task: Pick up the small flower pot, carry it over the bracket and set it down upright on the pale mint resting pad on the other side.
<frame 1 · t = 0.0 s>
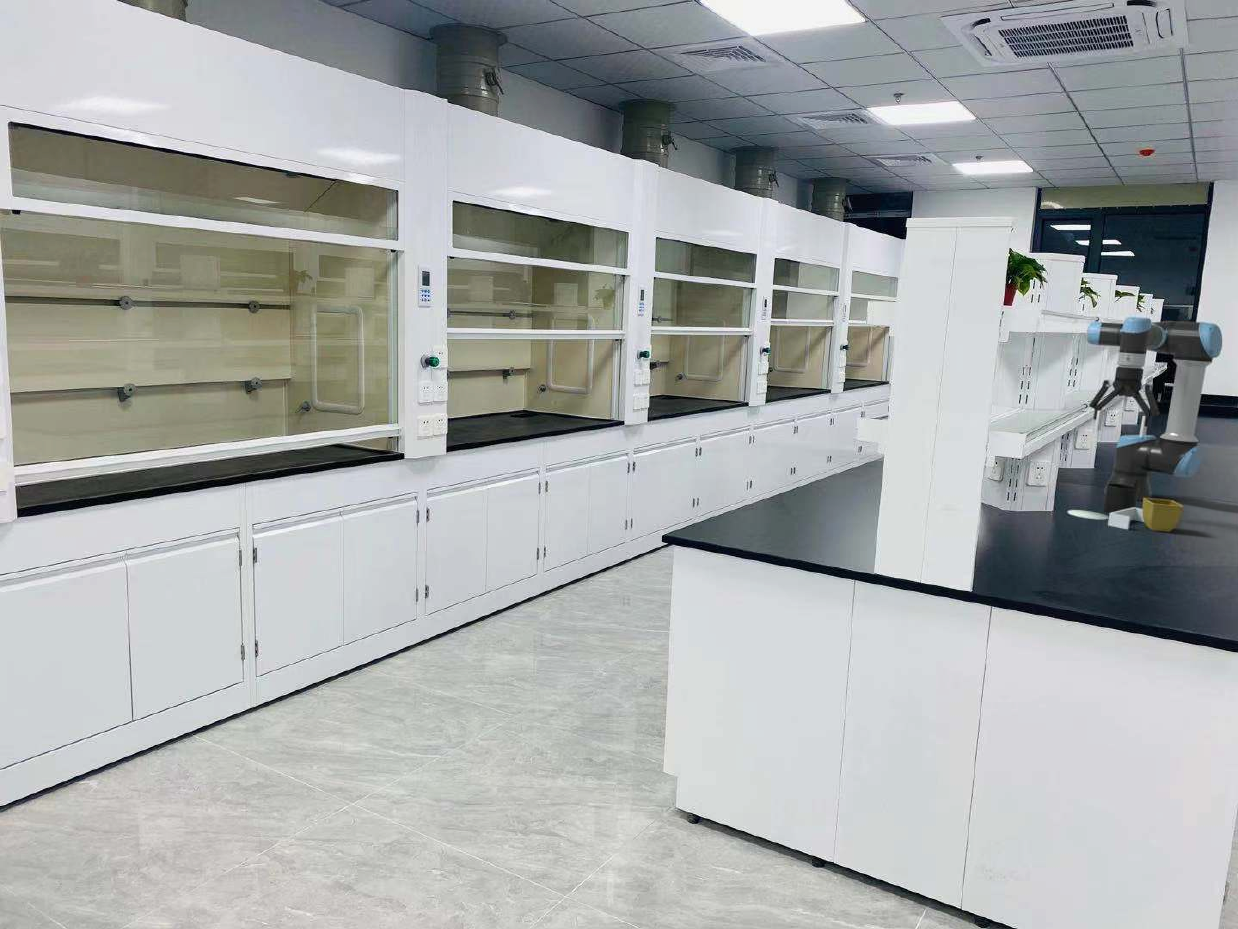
hand: (1119, 433, 284), 28 cm above the table, fingers open, 13 cm apart
pad: (1087, 515, 293), on the table
bracket: (1121, 522, 285), on the table
mug: (1119, 512, 301), on the table
flower pot: (1158, 530, 278), on the table
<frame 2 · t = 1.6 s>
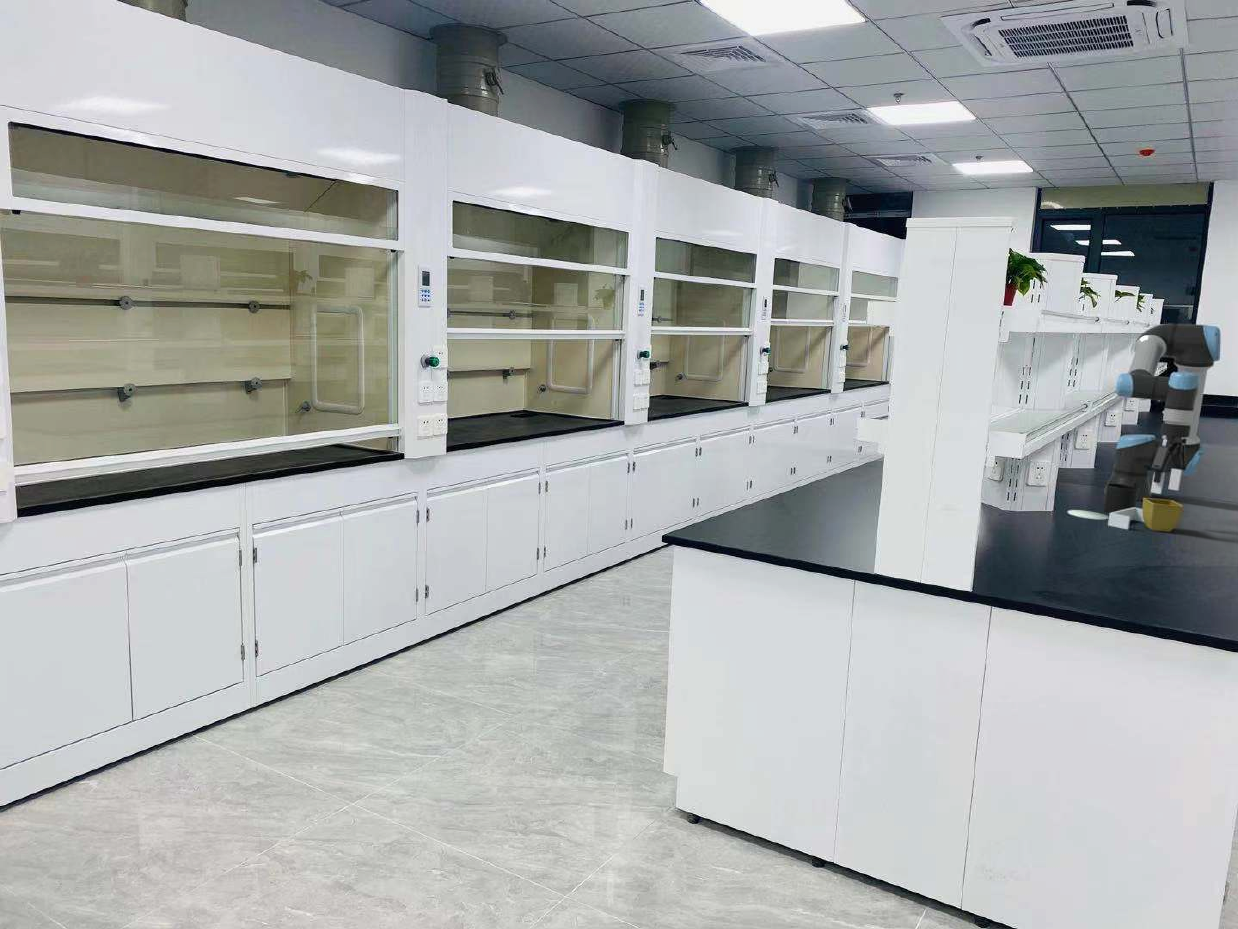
hand: (1164, 491, 275), 12 cm above the table, fingers open, 13 cm apart
nothing on the table moved.
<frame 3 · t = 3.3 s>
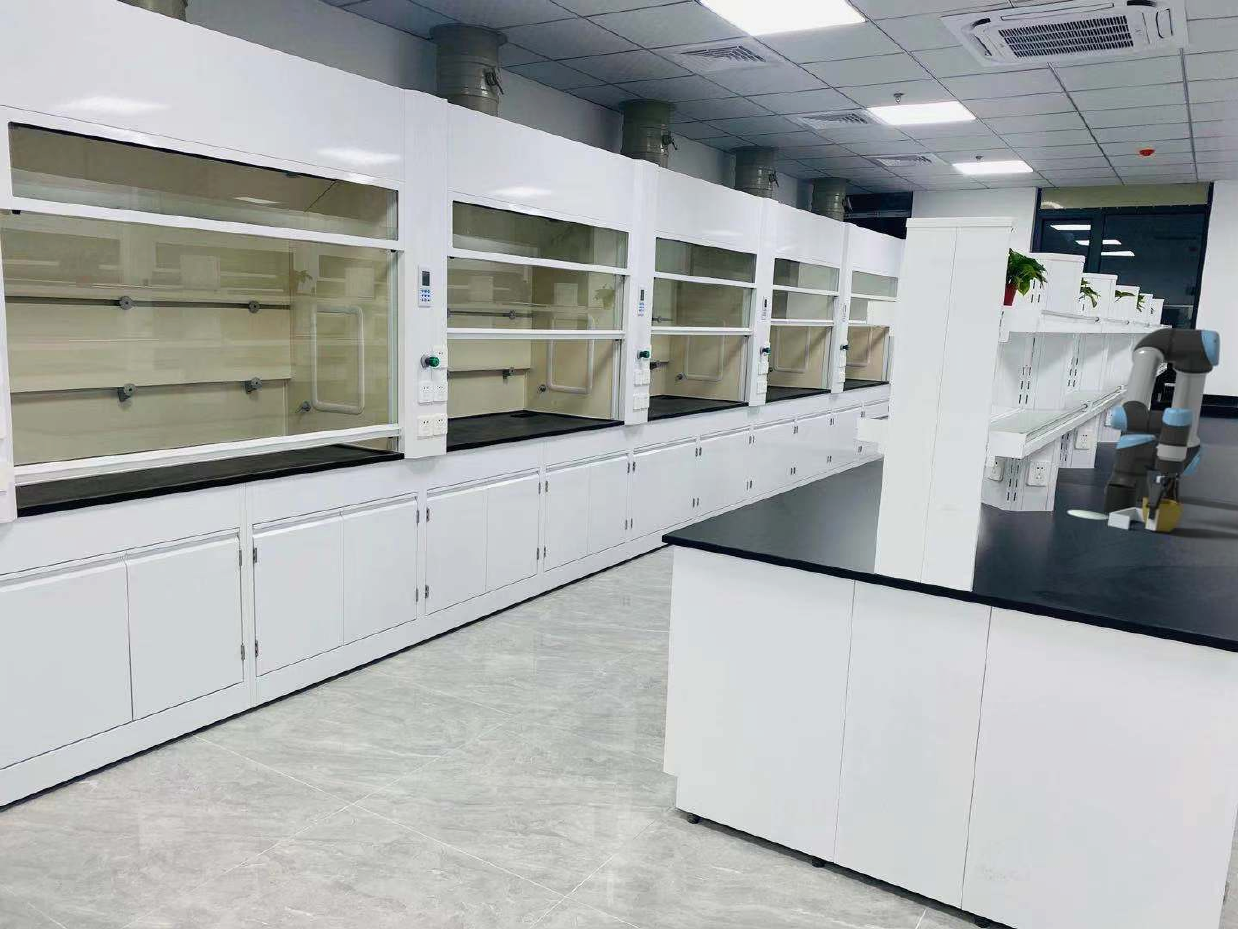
hand: (1158, 527, 277), 1 cm above the table, fingers closed on flower pot, 12 cm apart
flower pot: (1158, 530, 278), on the table, touching gripper
everything else where it was.
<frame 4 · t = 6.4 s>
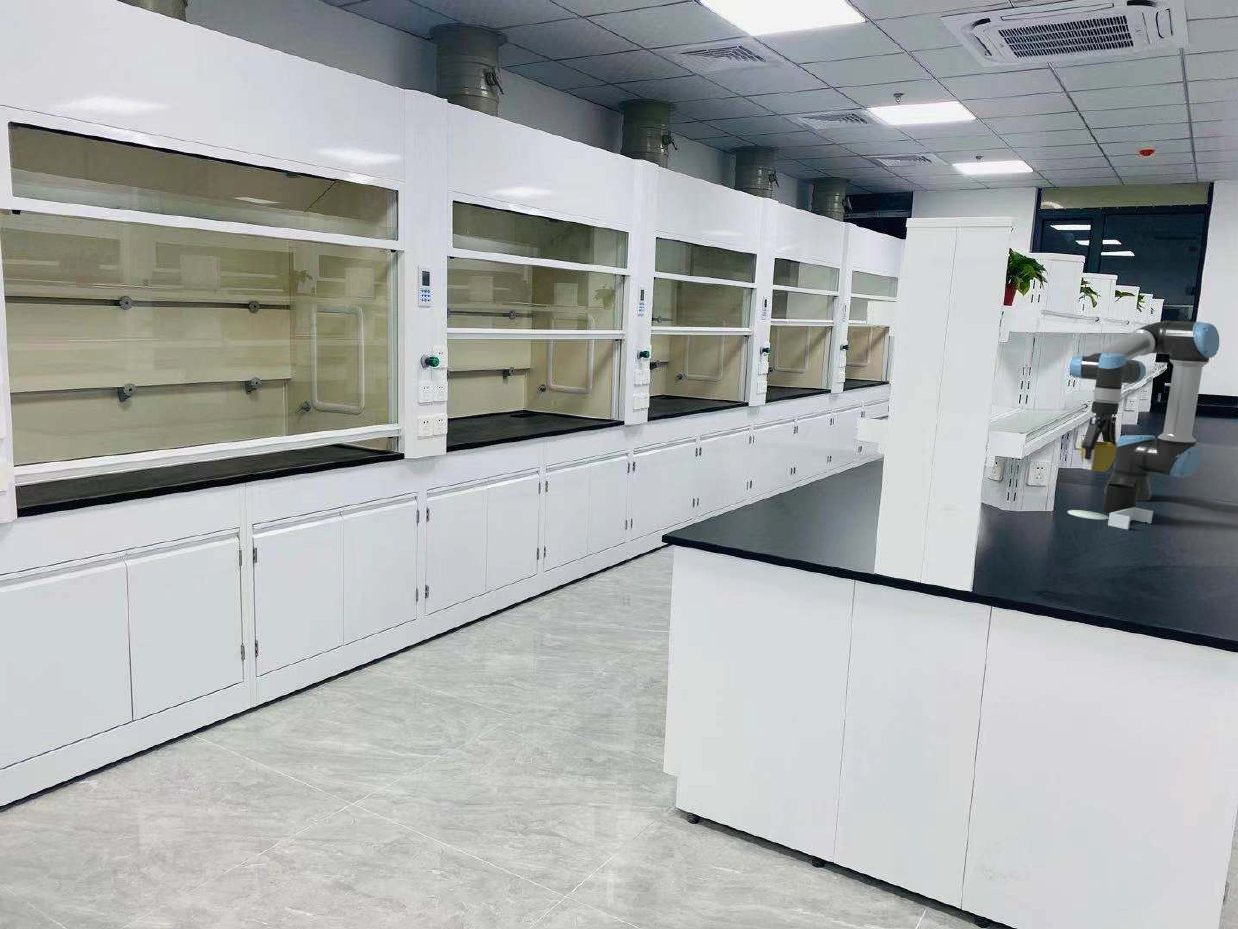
hand: (1095, 467, 290), 16 cm above the table, fingers closed on flower pot, 12 cm apart
flower pot: (1095, 470, 290), point 15 cm above the table, touching gripper
everything else where it was.
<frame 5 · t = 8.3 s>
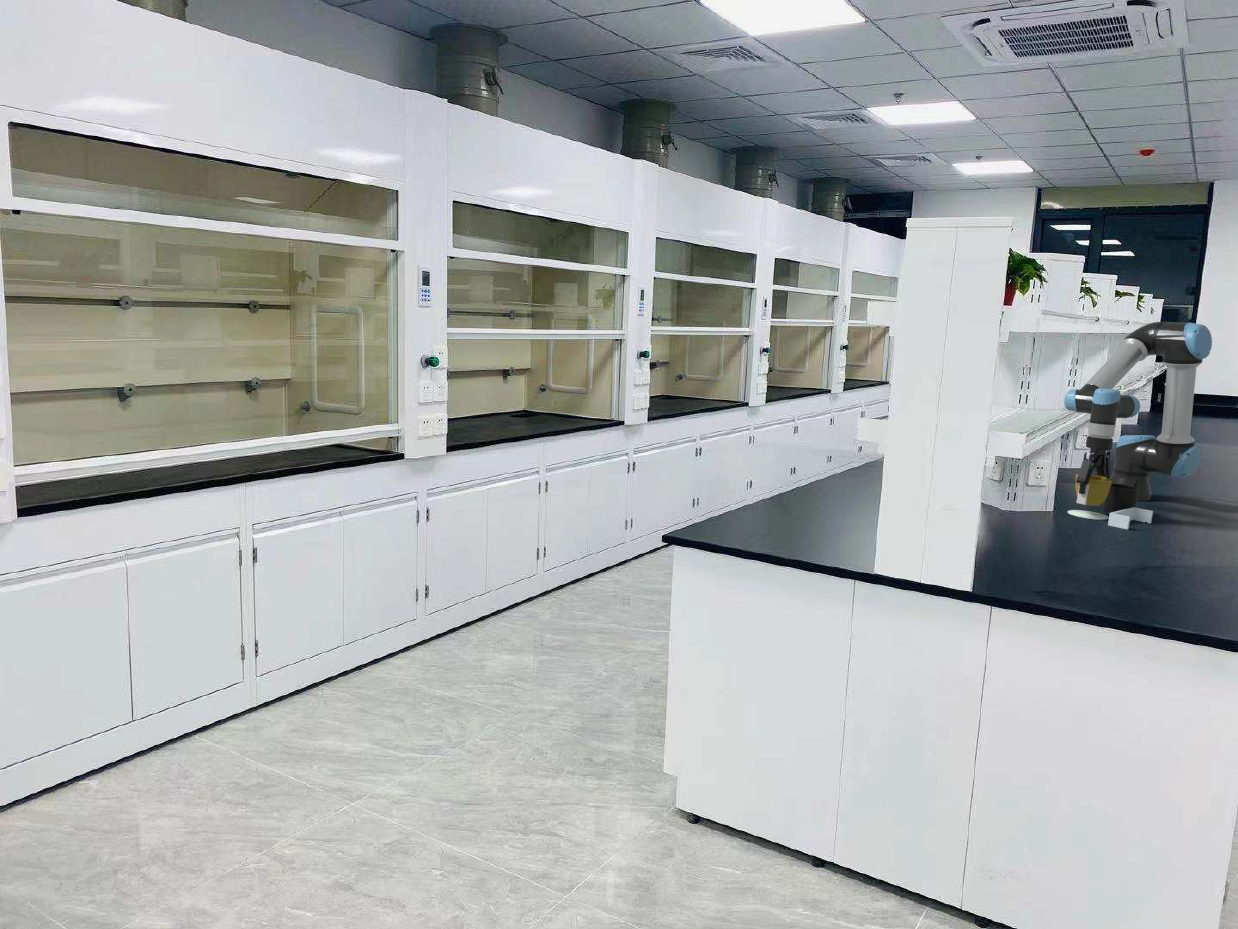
hand: (1089, 502, 292), 4 cm above the table, fingers closed on flower pot, 12 cm apart
flower pot: (1089, 504, 292), point 3 cm above the table, touching gripper
everything else where it was.
when the fingers open (2 cm above the table, at t = 9.8 s): flower pot drops 1 cm, resting on pad.
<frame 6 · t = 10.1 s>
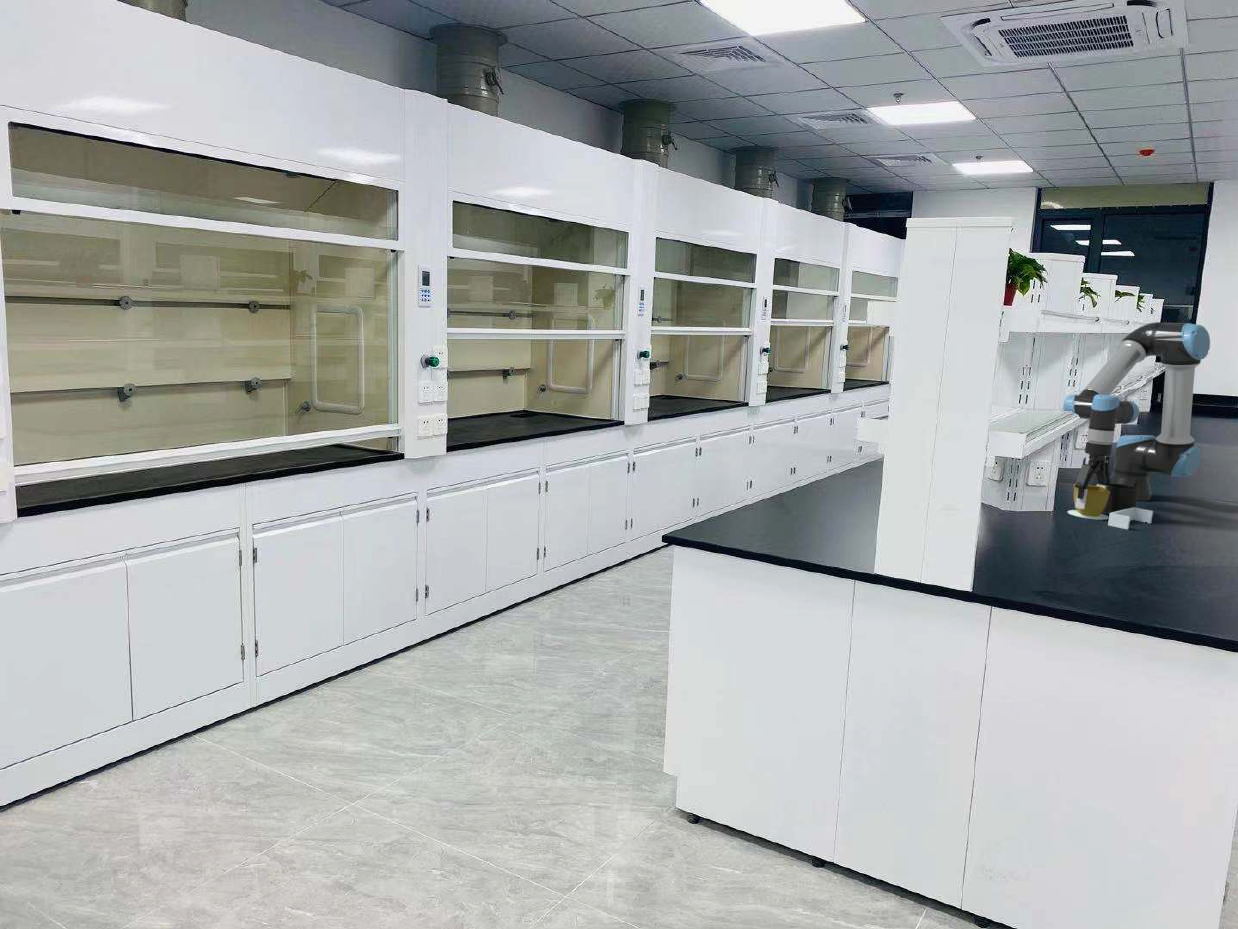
hand: (1089, 506, 292), 3 cm above the table, fingers open, 13 cm apart
flower pot: (1087, 515, 293), resting on pad
everything else where it was.
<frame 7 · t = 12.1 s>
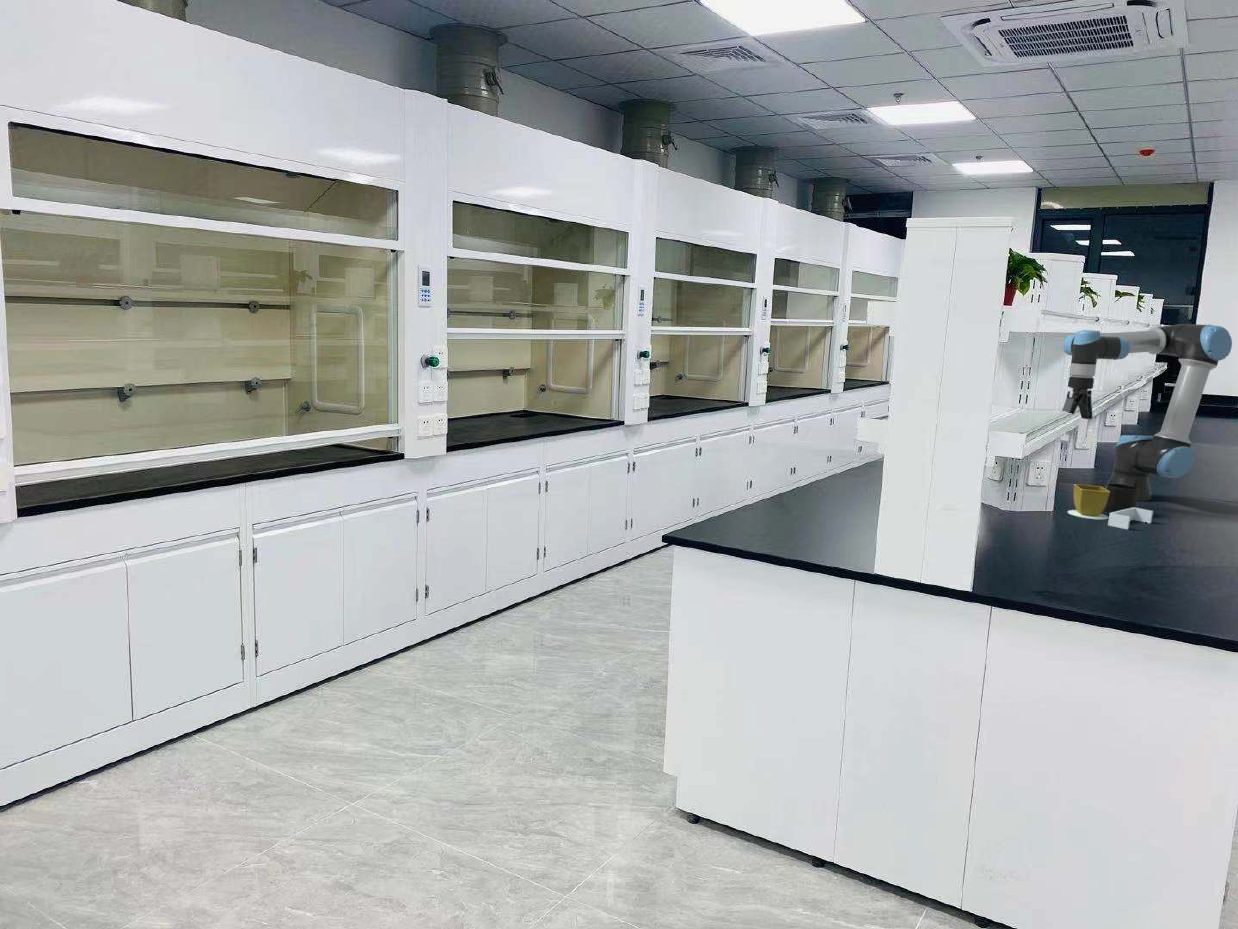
hand: (1073, 439, 302), 23 cm above the table, fingers open, 13 cm apart
nothing on the table moved.
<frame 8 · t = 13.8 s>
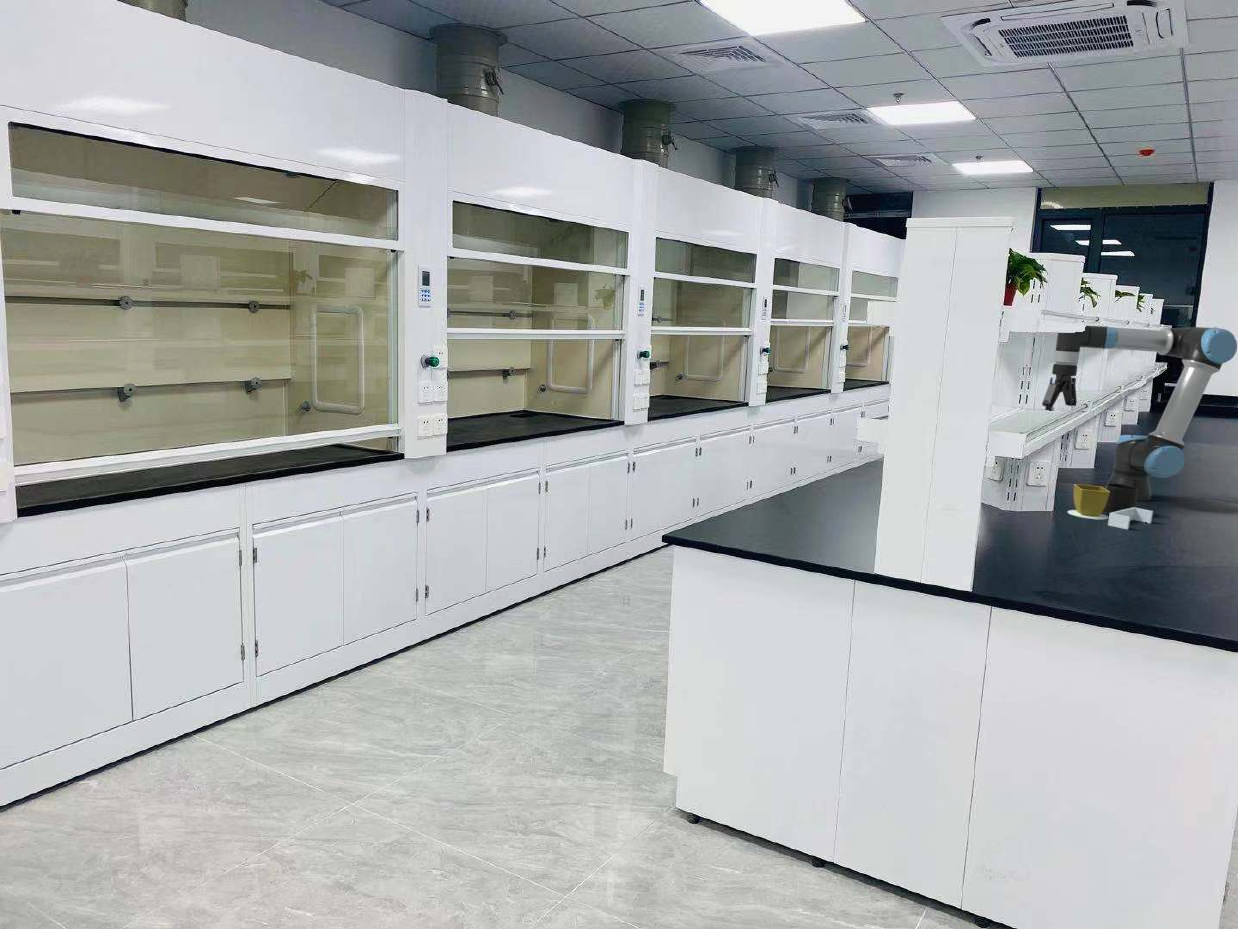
hand: (1056, 424, 311), 27 cm above the table, fingers open, 13 cm apart
nothing on the table moved.
at the end: flower pot 0.2 cm from the pad (horizontally); flower pot tilted 0°; flower pot resting on pad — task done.
